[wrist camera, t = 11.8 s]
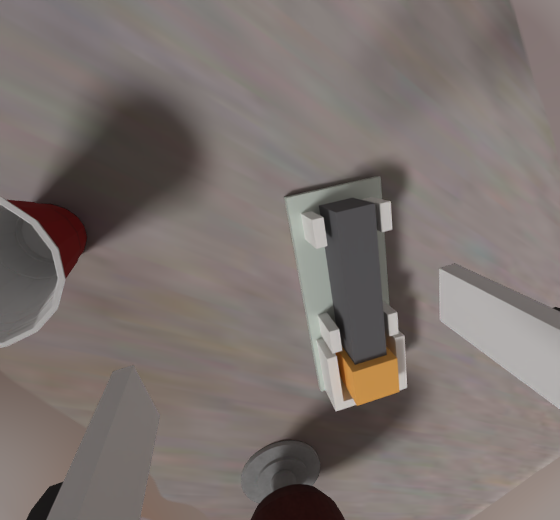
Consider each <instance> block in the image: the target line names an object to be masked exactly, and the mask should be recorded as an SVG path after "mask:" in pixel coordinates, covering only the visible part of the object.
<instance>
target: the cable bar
mask: <svg viewBox="0 0 560 520" xmlns="http://www.w3.org/2000/svg"><path fill="white" fill-rule="evenodd" d="M319 211H320V216H322V217H323V218H324V225H325V232H326V239H327V246H326V247H325V252H326V259H327V266H328V273H329V280H330V287H331V294H332V300H333V307H334V314H335V321H336V325H337V327H338V328H339V331H340V338H341V345H342V351H340V352H337V353H335V354H336V356H337V361H338V368H339V374H340V377H341V379H342V381H343V383H344V384H345V386H346V388H347V389H348V391H349V393H350V395H351V396H352V398H353V400H354V401H355V403H356V405H357V406H358V405H361V404H364V403H367V402H370V401H373V400H376V399H379V398H382V397H385V396H389V395H392V394H395V393H398V392H400V391H399V375H398V359H397V357H396V356H395V355H394V354H393V353H392V352H391V351H390V350H389V349H388V348H387V347H386V339H385V326H384V313H383V301H382V288H381V275H380V262H379V249H378V236H377V224H376V211H375V203H372V202H368V201H364V200H360V199H356V198H349V199H344V200H340V201H336V202H332V203H327V204H323V205H319Z"/></svg>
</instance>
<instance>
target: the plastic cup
mask: <svg viewBox="0 0 560 520" xmlns="http://www.w3.org/2000/svg"><path fill="white" fill-rule="evenodd" d="M86 240H87V236H86V231H85V227H84V225H83V224H82V223H81V221H80V220H79V218H78V217H77V216H76V215H74V214H73V213H71V212H70V211H69V210H67V209H65V208H62V207H58V206H55V205H52V204H39V203H35V202H26V201H14V200H6V199H4V198H2V197H0V347H7V346H9V345H11V344H13V343H15V342H17V341H19V340H21V339H23V338H25V337H27V336H29V335H31V334H33V333H36V332H38V331H39V329H40V328H41V327H42V326H43V325H44V324H45V323H46V321H47V320H48V319H49V318H50V317H51V316H52V315H53V314H54V312H55V311H56V310H57V309H58V306H59V302H60V299H61V295H62V291H63V287H64V283H65V279H66V277H67V276H68V274H69V273H70V272H71V270H72V269H73V267H74V266H75V264H76V263H77V261H78V258H79V256H80V255H81V254H82V252H83V251H84V248H85V244H86Z"/></svg>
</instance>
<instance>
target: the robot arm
mask: <svg viewBox="0 0 560 520" xmlns="http://www.w3.org/2000/svg"><path fill="white" fill-rule="evenodd" d="M439 297H440V321H441V322H443V323H444V324H445V325H447V326H448V327H449V328H451V329H452V330H453V331H455V332H456V333H458V334H459V335H460V336H462V337H463V338H464V339H466V340H467V341H468V342H470V343H471V344H472V345H474V346H475V347H476V348H478V349H479V350H480V351H482V352H483V353H485V354H486V355H487V356H489V357H490V358H491V359H493V360H494V361H495V362H497V363H498V364H499V365H501V366H502V367H503V368H505V369H506V370H507V371H509V372H510V373H512V374H513V375H514V376H516V377H517V378H518V379H520V380H521V381H522V382H524V383H525V384H526V385H528V386H529V387H530V388H532V389H533V390H534V391H536V392H537V393H539V394H540V395H541V396H543V397H544V398H545V399H547V400H548V401H549V402H551V403H552V404H553V405H555V406H556V407H557V408H559V409H560V308H557V307H554V308H551V307H549V306H547V305H544V304H542V303H540V302H538V301H536V300H533V299H531V298H529V297H527V296H525V295H523V294H520V293H518V292H516V291H514V290H512V289H510V288H507V287H505V286H503V285H501V284H499V283H497V282H494V281H492V280H490V279H488V278H486V277H483V276H481V275H479V274H477V273H475V272H473V271H470V270H468V269H466V268H464V267H462V266H460V265H457V264H455V263H454V264H451V265H448V266H445V267H441V268H439ZM159 419H160V414H159V412H158V411H157V409H156V407H155V405H154V403H153V401H152V399H151V397H150V395H149V394H148V392H147V390H146V388H145V386H144V384H143V382H142V380H141V378H140V377H139V375H138V373H137V371H136V369H135V367H134V365H132V366H129V367H126V368H122V369H119V370H116V371H113V372H112V375H111V377H110V379H109V381H108V384H107V386H106V388H105V390H104V392H103V395H102V397H101V399H100V401H99V404H98V406H97V408H96V410H95V413H94V415H93V417H92V419H91V421H90V424H89V426H88V428H87V431H86V433H85V435H84V437H83V439H82V442H81V444H80V446H79V448H78V450H77V453H76V455H75V457H74V459H73V462H72V464H71V466H70V469H69V470H68V473H67V475H66V477H65V479H64V482H61V483H58V484H56V485H53V486H50V487H49V488H48V489H47V490H46V492H45V493H44V494H43V496H42V497H41V498H40V499H39V501H38V502H37V503H36V505H35V506H34V507H33V508H32V510H31V512H30V513H29V516H28V518H27V520H140V516H141V511H142V505H143V500H144V495H145V490H146V484H147V480H148V475H149V470H150V465H151V459H152V454H153V449H154V444H155V439H156V434H157V429H158V424H159Z"/></svg>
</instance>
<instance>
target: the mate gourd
mask: <svg viewBox="0 0 560 520" xmlns="http://www.w3.org/2000/svg"><path fill="white" fill-rule="evenodd" d="M319 473H320V460H319V457H318V455H317V453H316V451H315V450H314V449H313V448H312V447H311V446H309V445H308V444H306V443H303V442H299V441H282V442H277V443H274V444H271V445H268V446H266V447H264V448H262V449H261V450H259V451H258V452H256V453H255V454H254V455H253V456H252V457H251V458H250V459H249V460H248V462H247V463H246V464H245V466H244V468H243V471H242V475H241V484H242V489H243V492H244V493H245V495H246V496H247V497H248V498H249V499H250V500H252V501H254V502H256V503H259V505H258V506H257V508H256V510H255V512H254V514H253V516H252V518H251V520H345V519H344V517H343V515H342V513H341V512H340V510H339V508H338V507H337V505H336V504H335V502H334V501H333V500H332V499H331V498H330V497H328V496H327V495H325V494H324V493H323V492H321V491H320V490H318V489H317V488H315V487H313V486H312V485H313V484H314V483H315V481H316V480H317V478H318V476H319Z"/></svg>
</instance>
